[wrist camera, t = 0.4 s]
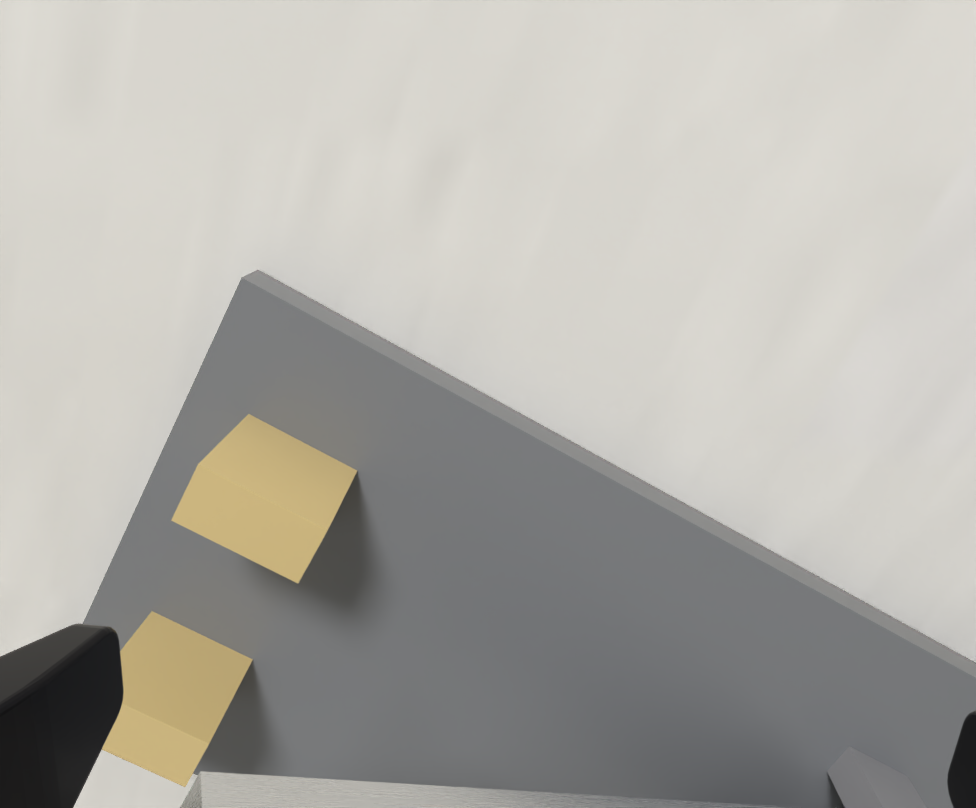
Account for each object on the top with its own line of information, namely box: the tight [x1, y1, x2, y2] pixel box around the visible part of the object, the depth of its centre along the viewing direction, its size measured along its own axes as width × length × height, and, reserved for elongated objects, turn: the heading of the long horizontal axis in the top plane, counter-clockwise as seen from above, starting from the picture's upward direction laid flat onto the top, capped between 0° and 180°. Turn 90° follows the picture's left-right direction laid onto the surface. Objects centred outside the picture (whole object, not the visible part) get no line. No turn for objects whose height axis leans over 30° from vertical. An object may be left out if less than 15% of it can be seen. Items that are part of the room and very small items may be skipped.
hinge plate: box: [83, 270, 976, 808], centre depth 21 cm, size 24×14×4 cm, turn 61°
